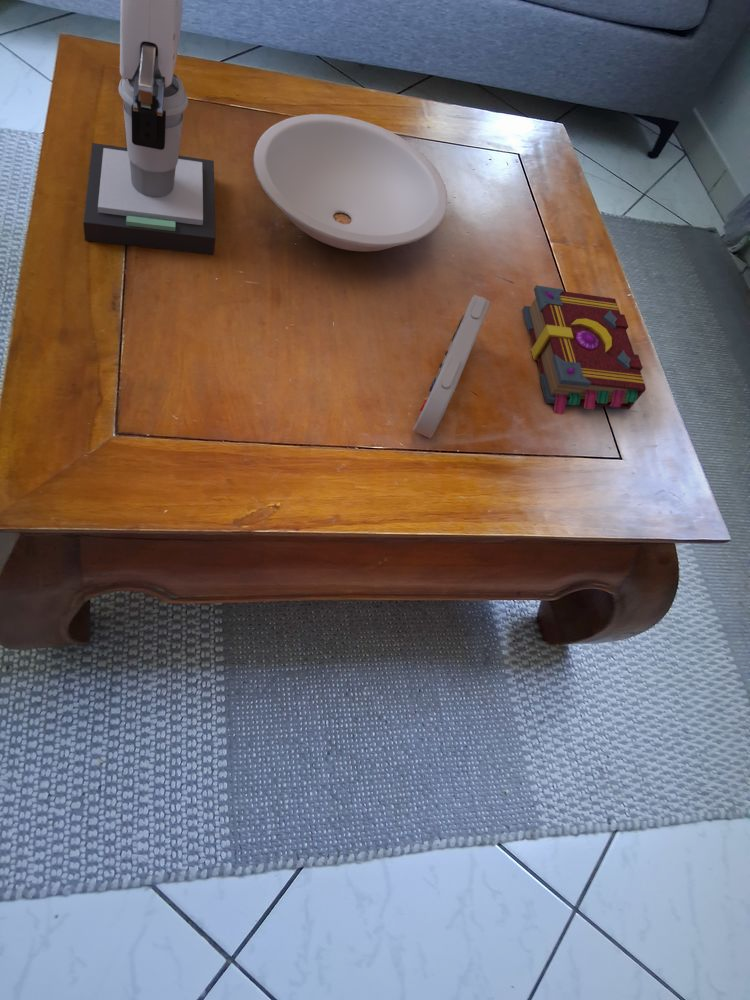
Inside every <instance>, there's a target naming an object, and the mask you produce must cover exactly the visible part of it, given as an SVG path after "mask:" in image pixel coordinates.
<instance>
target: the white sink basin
mask: <svg viewBox="0 0 750 1000" xmlns="http://www.w3.org/2000/svg"><path fill="white" fill-rule="evenodd" d="M252 161H253V169H254V171H255V172H254V173H255V176H256V178H257V181H258V183H259V185H260V186H261V189H262V191H264V193H265V194H266V196H267V197H268V198H269V199H270V201H271V202H272V203H273V204H275V206H276V207H277V208H278V209H280V211H282V213H283V214H284V215H285V216H286V217H287V218H288V220H289V221H290V222H291V223H293V225H295V226H296V228H298V229H299V230H301V231H302V232H303V233H305V234H306V235H307V236H310V237H311V238H313V239H314V240H317V241H319V242H320V243H323V244H325V245H328V246H330V247H333V248H338V249H340V250H344V251H350V252H377V251H378V252H379V251H383V250H388V249H391V248H395V247H397V246H404V245H407V244H411V243H414V242H417V241H419V240H421V239H423V238H426V237H427V236H429V235H430V234H431V233H432V232H434V231H435V230H436V229H437V228H438V227H439V225H440V224H441V223H442V221H443V219H444V218H445V216H446V213H447V209H448V191H447V188H446V184H445V181H444V179H443V177H442V176H441V174H440V171H438V169H437V168H436V167H435V165H434V163H432V162H431V160H430V159H429V158H428V157H427V156H426V155H425V154H424V153H423V152H421V151H420V150H419V149H418V148H417V147H415V145H414V144H412V143H411V142H409V141H407V140H406V139H404V138H403V137H401V136H399V135H398V134H396V133H394V132H392V131H391V130H388V129H386V128H384V127H381V126H380V125H376V124H374V123H371V122H368V121H366V120H362V119H358V118H354V117H351V116H346V115H339V114H330V113H329V114H328V113H312V114H302V115H296V116H291V117H289V118H286V119H283V120H281V121H279V122H277V123H274V124H273V125H271V126H270V127H269V128H268V129H266V130H265V131H264V132H263V133H262V135H260V137H259V138H258V140H257V143H256V145H255V148H254V152H253V160H252ZM339 213H340V214H344V215H347V216H348V217H349V218H350V222H349V223H341V222H339V221H337V220H336V219H335V218H334V215H335V214H339Z"/></svg>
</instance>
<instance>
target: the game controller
mask: <svg viewBox="0 0 750 1000" xmlns="http://www.w3.org/2000/svg"><path fill="white" fill-rule="evenodd" d="M490 303H491V302H490V301H489V300H488V299H486V298H485V297H483V296H480V295H476V294H474V295H472V297H471V299H470V301H469V303H468V305H467V307H466V308H465V311H464V313H463V315H462V316H461V318H460V320H459V322H458V325H457V327H456V329H455V331H454V333H453V336H452V338H451V342H450V344H449V346H448V349H447V350H445V352H444V358H443V360H442V362H440V363H439V366H438V367H439V369H438V372H437V374H436V376H435V377H434V378H433V380H432V382H431V385H430V387H429V390H428V394H427V396H426V397H425V398H424V400H423V402H422V404H421V406H420V409H419V415H418V417H417V419H416V421H415V424H414V425H413V431H414V433H417V434H419V435H422V436H424V437H426V438H429V439H430V438H433V435H434V434H435V432H436V430H437V428H438V427H439V425H440V422H441V421H442V418H443V416H444V414H445V412H446V410H447V408H448V406H449V404H450V401H451V400H452V397H453V395H454V392H455V391H456V388H457V386H458V383H459V381H460V379H461V377H462V373H463V372H464V369H465V367H466V364H467V362H468V359H469V357H470V354H471V352H472V350H473V347H474V345H475V342H476V339H477V337H478V335H479V333H480V330H481V327H482V325H483V324H484V323H483V322H484V320H485V317H486V315H487V312H488V310H489V308H490V305H491V304H490Z"/></svg>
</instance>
